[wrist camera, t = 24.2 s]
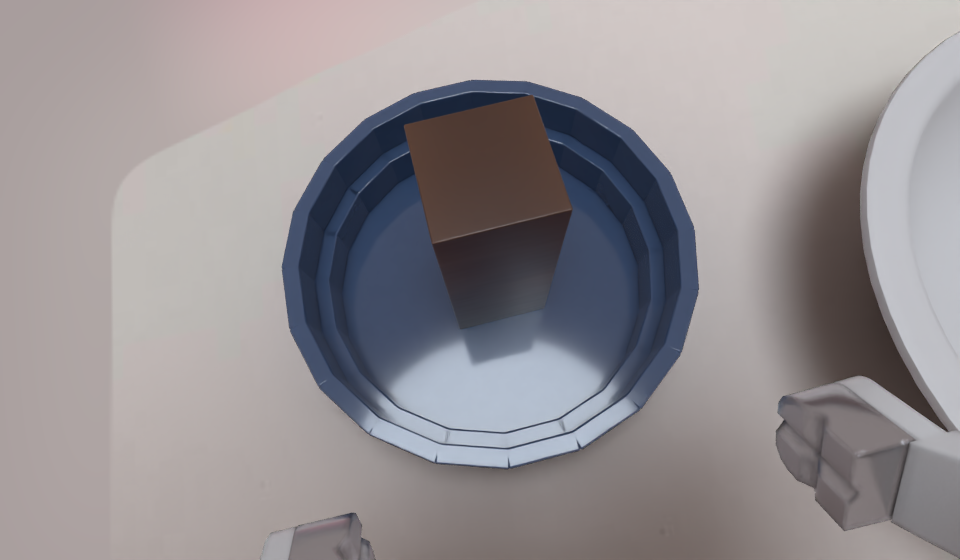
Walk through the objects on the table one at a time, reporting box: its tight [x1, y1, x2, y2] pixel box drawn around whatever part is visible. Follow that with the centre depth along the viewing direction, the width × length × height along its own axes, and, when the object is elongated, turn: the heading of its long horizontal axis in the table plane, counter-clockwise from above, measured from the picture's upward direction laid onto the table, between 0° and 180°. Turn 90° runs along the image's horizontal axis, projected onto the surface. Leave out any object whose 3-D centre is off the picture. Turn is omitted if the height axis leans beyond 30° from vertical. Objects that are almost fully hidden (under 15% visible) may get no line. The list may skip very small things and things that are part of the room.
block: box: [404, 95, 573, 329], centre depth 19 cm, size 4×4×10 cm
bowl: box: [282, 80, 699, 469], centre depth 22 cm, size 16×16×4 cm
